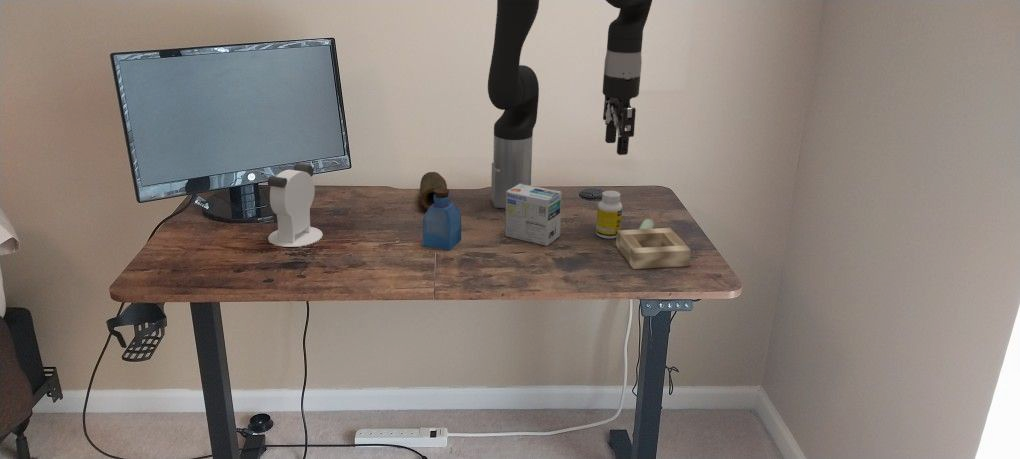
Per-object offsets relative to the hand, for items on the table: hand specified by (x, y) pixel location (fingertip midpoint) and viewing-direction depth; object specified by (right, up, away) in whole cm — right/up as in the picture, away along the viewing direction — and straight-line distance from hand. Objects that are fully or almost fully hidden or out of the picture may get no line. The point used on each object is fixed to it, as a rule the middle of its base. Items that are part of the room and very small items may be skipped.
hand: (616, 148), depth 166 cm
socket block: (+7, -23, -2) cm, 24 cm away
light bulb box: (-18, -19, +6) cm, 27 cm away
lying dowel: (+7, -19, +8) cm, 22 cm away
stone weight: (-41, -11, +24) cm, 49 cm away
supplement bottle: (-1, -19, +8) cm, 20 cm away
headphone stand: (-69, -19, +3) cm, 72 cm away
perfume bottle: (-37, -20, +2) cm, 43 cm away
